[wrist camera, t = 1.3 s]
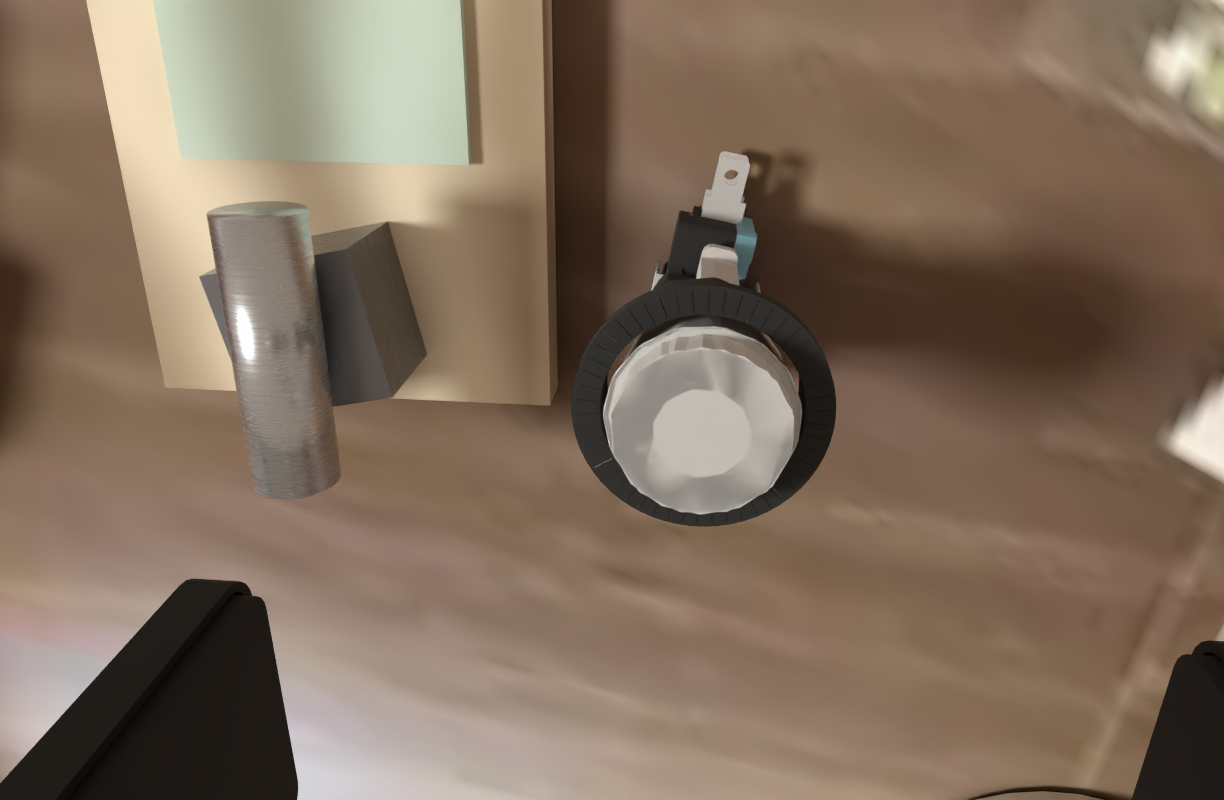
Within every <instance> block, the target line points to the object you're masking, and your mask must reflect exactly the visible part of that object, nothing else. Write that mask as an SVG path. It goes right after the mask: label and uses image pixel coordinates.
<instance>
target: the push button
mask: <svg viewBox="0 0 1224 800" xmlns="http://www.w3.org/2000/svg"><path fill="white" fill-rule="evenodd" d="M748 161H749V159H748V157H747V156H746V155H741V154H736V153H732V152H727V151H723V152H722V153H720V157H719V161H718V165H717V170H716V174H715V178H714V182H713V186H712V190H711V189H706V192H705V196H704V200H703V205H702V208H701V207H696V206H694V208H693V212H692V213H690V212H685V211H680V212H679V216H678V220H677V224H676V229H675V233H674V238H673V243H672V247H671V252H670V257H669V262H668V266H667V271H666V273H665V274H660V273H658V271H659V266H660V261H658V262H657V267H656V271H655V276H654V280H653V285H652V289H651V291H650V292H647V293H645V294H643V295H641V296H639V297H637V298H635V299H634V300H632V301H630V302H629V303H627V304H626V305H624V306H623V307H622V308H620V309H619V310H618V311H616V312H615V313H614V314H613V315H612V316H611V317H610V318H609V319H608V320H607V321H606V322H605V323H604V324H603V325H602V326H601V327H600V329H599V330H598V331H597V332H596V333H595V335H594V336H593V338H592V340H591V341H590V343H589V344H588V346H587V348H586V350H585V352H584V354H583V356H582V359H581V362H580V364H579V367H578V370H577V373H576V376H575V380H574V385H573V391H572V420H573V427H574V431H575V435H576V439H577V441H578V444H579V447H580V449H581V452H582V454H583V456H584V458H585V460H586V461H587V463H588V465H589V466H590V468H591V469H592V471H593V472H594V473H595V475H596V476H597V477H598V479H599V480H600V481H601V482H602V483H603V484H604V485H605V486H606V487H607V488H608V489H609V490H610V491H611V492H612V493H613V494H615V495H616V496H617V497H618V498H619V499H621V500H622V501H624V502H625V503H627V504H628V505H630V506H631V507H633V508H635V509H637V510H639V511H640V512H642V513H645V514H647V515H649V516H652V517H654V518H657V519H660V520H663V521H667V522H671V523H675V524H681V525H688V526H720V525H727V524H733V523H737V522H742V521H745V520H748V519H751V518H754V517H757V516H759V515H761V514H764V513H766V512H768V511H770V510H772V509H773V508H775V507H777V506H779V505H780V504H782V503H783V502H785V501H786V500H787V499H789V498H790V497H792V496H793V495H794V494H795V493H796V492H797V491H798V490H799V489H801V488H802V486H803V485H804V484H805V483H806V482H807V481H808V480H809V479H810V478H811V476H812V475H813V473H814V472H815V471H816V469H817V468H818V466H819V465H820V463H821V461H822V459H823V458H824V456H825V453H826V451H827V449H828V447H829V444H830V441H831V437H832V434H833V430H834V424H835V417H836V395H835V389H834V383H833V379H832V376H831V372H830V369H829V366H828V363H827V360H826V358H825V356H824V354H823V351H822V349H821V347H820V346H819V344H818V342H817V341H816V339H815V337H814V336H813V335H812V333H811V332H810V331H809V329H808V328H807V327H806V326H805V325H804V324H803V323H802V322H801V321H800V319H799V318H798V317H796V316H795V315H794V314H793V313H792V312H791V311H789V310H788V309H787V308H786V307H784V306H783V305H781V304H780V303H778V302H777V301H775V300H773V299H772V298H770V297H768V296H766V295H764V294H762V293H761V291H760V285H759V283H756V285H755V288H754V290H753V289H749V288H746V287H744V283H745V279H746V275H747V272H748V268H749V264H750V263H751V262H752V258H753V254H754V251H755V246H756V241H757V233H755V229H754V224H753V220H752V219H750V218H746V217H743V214H744V210H745V206H746V203H744V199H745V197H743V196H742V195H743V192H744V188H745V184H746V180H747V176H748V172H749V168H750V164H749V162H748ZM728 170H735V171H737V172H738V175H737V177H735V178H734V179H727V178H726V177H725V176H724V175H725V173H726V172H727V171H728ZM635 337H637V338H636V340H635V341H634V343H633V345H632V347H631V348H630V350H629V352H628V354H627V356H626V357H625V359H624V362H623V364H622V365H621V366H620V367H619V369H618V370H617V371H616V372H615V374H614V376H613V378H612V380H611V382H610V386H609V390H608V387H607V375H608V371H609V369H610V367H611V365H612V363H613V362H614V360H615V359H616V357H617V356H618V354H619V353H620V352H621V351H622V350H623V349H624V347H625V346H626V345H627V344H629V343H630V342H631V341H632V340H633V339H634V338H635ZM769 337H770V338H771V339H772V340H773V341H775V342H776V343H777V344H778V345H779V346H780V347H781V348H782V349H783V350H784V351H785V353H786V354H787V355H788V357H789V358H790V359H791V361H792V362H793V364H794V366H795V368H796V369H797V371H798V373H799V392H798V393H797V390H796V387H795V384H794V381H793V378H792V376H791V374H790V372H789V371H788V369H787V367H786V366H785V365H784V364H783V363H782V359H781V354H780V352H779V351H778V349H777V348H776V346H775V345H774V344H773V342H772V341H771V339H770V338H769Z"/></svg>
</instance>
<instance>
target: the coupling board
mask: <svg viewBox="0 0 1224 800" xmlns="http://www.w3.org/2000/svg"><path fill="white" fill-rule="evenodd" d="M86 1H87V6H88V11H89V15H90V20H91V25H92V30H93V35H94V40H95V45H96V50H97V55H98V60H99V64H100V69H101V74H102V79H103V84H104V89H105V94H106V99H107V104H108V109H109V113H110V118H111V123H112V128H113V133H114V138H115V143H116V148H117V153H118V158H119V162H120V167H121V172H122V177H123V182H124V187H125V192H126V197H127V202H128V207H129V211H130V216H131V221H132V226H133V231H134V236H135V241H136V246H137V251H138V256H139V260H140V265H141V270H142V275H143V280H144V285H145V290H146V295H147V300H148V304H149V309H150V314H151V319H152V324H153V329H154V334H155V339H156V344H157V349H158V353H159V358H160V363H161V368H162V373H163V378H164V383H165V387H167V388H188V389H209V390H230V391H236V385H235V379H234V373H233V367H232V362H231V359H230V356H229V353H228V351H227V348H226V346H225V343H224V340H223V338H222V335H221V333H220V330H219V327H218V325H217V322H216V320H215V317H214V314H213V312H212V309H211V307H210V304H209V301H208V299H207V296H206V294H205V291H204V288H203V286H202V283H201V281H200V278H199V276H201V275H203V274H205V273H207V272H209V271H211V270H213V269H214V268H215V262H214V256H213V250H212V244H211V238H210V232H209V227H208V221H207V215H206V214H207V212H208V211H210V210H212V209H215V208H218V207H222V206H226V205H231V204H238V203H247V202H262V201H282V202H294V203H300V204H303V205H306V206H307V207H308V212H309V220H310V228H311V236H313V235H318V234H324V233H329V232H334V231H339V230H345V229H350V228H355V227H360V226H366V225H371V224H376V223H381V222H387V221H388V224H389V227H390V230H391V234H392V237H393V241H394V244H395V247H396V251H397V254H398V257H399V261H400V264H401V268H402V271H403V274H404V278H405V281H406V284H407V288H408V291H409V294H410V298H411V301H412V305H413V308H414V311H415V315H416V318H417V321H418V325H419V328H420V332H421V335H422V338H423V342H424V345H425V348H426V352H427V356H426V357H425V358H424V359H423V360H422V362H421V363H420V364H419V365H418V367H417V368H416V369H415V370H414V372H413V373H412V374H411V375H410V377H409V378H408V379H407V380H406V381H405V383H404V384H403V385H402V386H401V388H400V389H399V390H398V391H397V393H396V394H395V395H394V396H393V397H391V398H398V399H419V400H440V401H461V402H482V403H503V404H524V405H545V406H550V405H551V402H552V400H553V397H554V395H555V392H556V390H557V387H558V365H557V303H556V242H555V180H554V119H553V57H552V0H86Z"/></svg>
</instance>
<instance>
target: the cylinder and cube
mask: <svg viewBox="0 0 1224 800" xmlns="http://www.w3.org/2000/svg"><path fill="white" fill-rule="evenodd" d="M206 215H207V221H208V227H209V232H210V238H211V244H212V250H213V256H214V262H215V268H214V269H213V270H211V271H209V272H207V273H205V274H203V275H201V276H199V278H200V281H201V283H202V286H203V288H204V291H205V294H206V296H207V299H208V301H209V304H210V307H211V309H212V312H213V314H214V317H215V320H216V322H217V325H218V327H219V330H220V333H221V335H222V338H223V340H224V343H225V346H226V348H227V351H228V353H229V356H230V359H231V362H232V367H233V373H234V379H235V385H236V391H237V397H238V403H239V409H240V414H241V420H242V426H243V432H244V438H245V444H246V450H247V455H248V461H249V467H250V473H251V479H252V485H253V489H254V490H255V491H256V492H257V493H258V494H260V495H262V496H264V497H267V498H272V499H297V498H303V497H308V496H312V495H315V494H318V493H320V492H323V491H325V490H327V489H329V488H330V487H332V486H333V485H334V484H336V483H337V482H338V480H339V479H340V477H341V468H340V460H339V452H338V444H337V436H336V428H335V420H334V412H333V407H334V406H340V405H347V404H353V403H359V402H366V401H372V400H379V399H385V398H391V397H393V396H394V395H395V394H396V393H397V391H398V390H399V389H400V388H401V386H402V385H403V384H404V383H405V381H406V380H407V379H408V378H409V377H410V375H411V374H412V373H413V372H414V370H415V369H416V368H417V367H418V365H419V364H420V363H421V362H422V360H423V359H424V358H425V357H426V356H427V352H426V348H425V345H424V342H423V338H422V335H421V332H420V328H419V325H418V321H417V318H416V315H415V311H414V308H413V305H412V301H411V298H410V294H409V291H408V288H407V284H406V281H405V278H404V274H403V271H402V268H401V264H400V261H399V257H398V254H397V251H396V247H395V244H394V241H393V237H392V234H391V230H390V227H389V224H388V221H387V222H381V223H376V224H371V225H366V226H360V227H355V228H350V229H345V230H339V231H334V232H329V233H324V234H318V235H313V236H311V228H310V220H309V212H308V207H307V206H306V205H303V204H300V203H294V202H282V201H262V202H247V203H238V204H231V205H226V206H222V207H218V208H215V209H212V210H210V211H208V212H207V214H206Z"/></svg>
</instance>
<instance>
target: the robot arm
mask: <svg viewBox="0 0 1224 800" xmlns="http://www.w3.org/2000/svg"><path fill="white" fill-rule="evenodd" d="M297 796H298V780H297V774H296V769H295V763H294V758H293V752H292V747H291V741H290V736H289V730H288V725H287V719H286V714H285V708H284V703H283V697H282V692H281V686H280V681H279V675H278V670H277V665H276V659H275V654H274V648H273V643H272V637H271V632H270V626H269V621H268V615H267V610H266V606H265V603H264V601H263V600H262V598H260V597H257V596H252V594H251V591H250V589H249V587H248V586H247V585H246V584H245V583H243V582H239V581H222V580H206V579H190V580H186V581H185V582H184V583H182V584H181V585H180V586H179V587H178V588H177V589H176V590H175V591H174V592H173V593H172V595H171V596H170V597H169V598H168V599H167V600H166V601H165V602H164V603H163V605H162V606H161V607H160V608H159V609H158V610H157V611H156V612H155V613H154V614H153V616H152V617H151V618H150V619H149V620H148V621H147V622H146V623H145V624H144V625H143V627H142V628H141V629H140V630H139V631H138V632H137V633H136V634H135V635H134V637H133V638H132V639H131V640H130V641H129V642H128V643H127V644H126V645H125V646H124V648H123V649H122V650H121V651H120V652H119V653H118V654H117V655H116V656H115V657H114V659H113V660H112V661H111V662H110V663H109V664H108V665H107V666H106V667H105V668H104V670H103V671H102V672H101V673H100V674H99V675H98V676H97V677H96V678H95V680H94V681H93V682H92V683H91V684H90V685H89V686H88V687H87V688H86V689H85V691H84V692H83V693H82V694H81V695H80V696H79V697H78V698H77V699H76V700H75V702H74V703H73V704H72V705H71V706H70V707H69V708H68V709H67V710H66V712H65V713H64V714H63V715H62V716H61V717H60V718H59V719H58V720H57V721H56V723H55V724H54V725H53V726H52V727H51V728H50V729H49V730H48V731H47V732H46V734H45V735H44V736H43V737H42V738H41V739H40V740H39V741H38V742H37V744H36V745H35V746H34V747H33V748H32V749H31V750H30V751H29V752H28V753H27V755H26V756H25V757H24V758H23V759H22V760H21V761H20V762H19V763H18V764H17V766H16V767H15V768H14V769H13V770H12V771H11V772H10V773H9V774H8V776H7V777H6V778H5V779H4V780H3V781H2V782H1V783H0V800H297ZM975 800H1102V799H1098V798H1093V797H1089V796H1085V795H1080V794H1071V793H1059V792H1046V791H1038V792H1020V793H1006V794H1001V795H996V796H991V797H986V798H981V799H975ZM1132 800H1224V641H1204V642H1201V643H1200V644H1199V645H1197V646H1196V647H1195V649H1194V651H1193V653H1192V655H1190V654H1186V655H1182V656H1181V657H1179V658H1178V659H1177V661H1176V663H1175V665H1174V668H1173V671H1172V674H1171V678H1170V681H1169V684H1168V687H1167V690H1166V693H1165V696H1164V700H1163V703H1162V706H1161V709H1160V712H1159V715H1158V718H1157V722H1156V725H1155V728H1154V731H1153V734H1152V737H1151V740H1150V744H1149V747H1148V750H1147V753H1146V756H1145V759H1144V762H1143V766H1142V769H1141V772H1140V775H1139V778H1138V781H1137V784H1136V788H1135V791H1134V794H1133V797H1132Z"/></svg>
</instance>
